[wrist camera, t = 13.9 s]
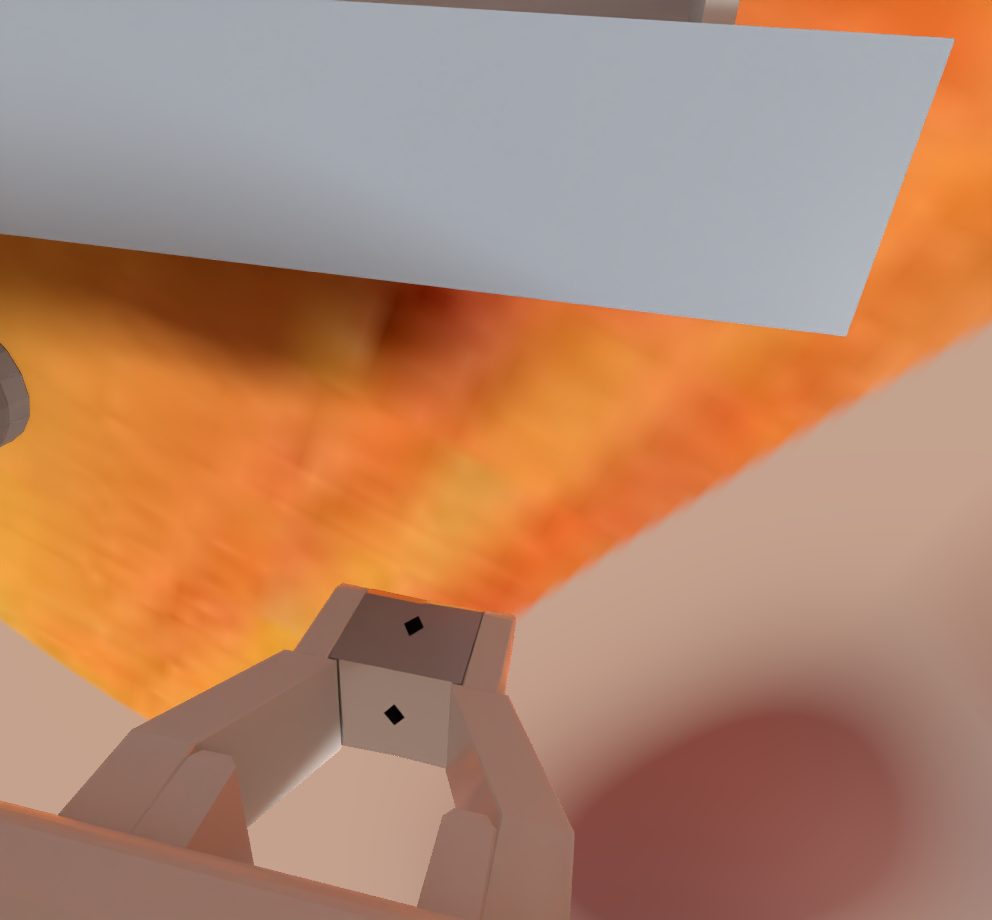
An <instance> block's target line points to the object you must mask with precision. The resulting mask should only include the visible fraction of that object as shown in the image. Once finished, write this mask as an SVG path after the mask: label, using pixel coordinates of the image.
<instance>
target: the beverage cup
mask: <svg viewBox="0 0 992 920" xmlns="http://www.w3.org/2000/svg"><path fill="white" fill-rule="evenodd" d="M28 419H29V396H28V393H27V390H26V387H25V384H24V381H23V378H22V375H21V373H20V371H19V370H18V368H17V367H16V365H15V363H14V362H13V360H12V358H11V357H10V355H9V354H8V352H7V351H6V350H5V348H4V347H3V346H2V345H1V344H0V447H1V446H3V445H5V444H7V443H9V442H11V441H13V440H14V439H15V438H16V437H18V436H19V435H20V434H21V433H22V432H24V429H25V427H26V424H27V421H28Z"/></svg>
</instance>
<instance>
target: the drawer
mask: <svg viewBox="0 0 992 920" xmlns="http://www.w3.org/2000/svg"><path fill="white" fill-rule="evenodd" d="M739 1H740V0H0V234H6V235H15V236H23V237H31V238H39V239H48V240H56V241H64V242H72V243H81V244H89V245H97V246H105V247H113V248H122V249H130V250H138V251H146V252H155V253H163V254H171V255H179V256H188V257H196V258H204V259H212V260H221V261H229V262H237V263H245V264H254V265H262V266H270V267H278V268H287V269H295V270H303V271H311V272H320V273H328V274H336V275H344V276H353V277H361V278H369V279H377V280H385V281H394V282H402V283H410V284H418V285H427V286H435V287H443V288H451V289H460V290H468V291H476V292H484V293H493V294H501V295H509V296H517V297H526V298H534V299H542V300H550V301H559V302H567V303H575V304H583V305H592V306H600V307H608V308H616V309H625V310H633V311H641V312H649V313H658V314H666V315H674V316H682V317H690V318H699V319H707V320H715V321H723V322H732V323H740V324H748V325H756V326H765V327H773V328H781V329H789V330H798V331H806V332H814V333H822V334H831V335H839V336H846V335H847V332H848V330H849V327H850V324H851V322H852V319H853V316H854V313H855V311H856V308H857V305H858V302H859V300H860V297H861V294H862V292H863V289H864V286H865V283H866V281H867V278H868V275H869V272H870V270H871V267H872V264H873V262H874V259H875V256H876V253H877V251H878V248H879V245H880V242H881V240H882V237H883V234H884V231H885V229H886V226H887V223H888V221H889V218H890V215H891V212H892V210H893V207H894V204H895V201H896V199H897V196H898V193H899V191H900V188H901V185H902V182H903V180H904V177H905V174H906V171H907V169H908V166H909V163H910V161H911V158H912V155H913V152H914V150H915V147H916V144H917V141H918V139H919V136H920V133H921V131H922V128H923V125H924V122H925V120H926V117H927V114H928V111H929V109H930V106H931V103H932V100H933V98H934V95H935V92H936V90H937V87H938V84H939V81H940V79H941V76H942V73H943V70H944V68H945V65H946V62H947V60H948V57H949V54H950V51H951V49H952V46H953V43H954V40H955V38H938V37H922V36H906V35H889V34H873V33H857V32H840V31H824V30H808V29H791V28H775V27H759V26H742V25H734V23H735V19H736V14H737V10H738V5H739Z"/></svg>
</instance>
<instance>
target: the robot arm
mask: <svg viewBox="0 0 992 920" xmlns="http://www.w3.org/2000/svg"><path fill="white" fill-rule="evenodd" d="M515 624H516V617H515V616H514V615H510V614H504V613H498V612H492V611H483V610H478V609H472V608H467V607H461V606H456V605H450V604H445V603H439V602H433V601H427V600H423V599H418V598H413V597H409V596H404V595H399V594H395V593H390V592H385V591H381V590H376V589H368V588H363V587H359V586H354V585H350V584H345V583H343V584H341V585H340V586H338V587H337V588H335V590H334V591H333V593H332V594H331V596H330V597H329V599H328V600H327V602H326V603H325V605H324V606H323V608H322V609H321V611H320V612H319V614H318V615H317V617H316V618H315V620H314V621H313V623H312V624H311V626H310V627H309V629H308V630H307V632H306V633H305V635H304V636H303V638H302V639H301V641H300V642H299V644H298V645H297V647H296V648H295V650H294V651H290V650H283V651H281V652H279V653H277V654H275V655H273V656H272V657H270V658H268V659H266V660H264V661H262V662H260V663H258V664H256V665H254V666H252V667H251V668H249V669H247V670H245V671H243V672H241V673H239V674H237V675H235V676H233V677H231V678H230V679H228V680H226V681H224V682H222V683H220V684H218V685H216V686H214V687H212V688H210V689H208V690H207V691H205V692H203V693H201V694H199V695H197V696H195V697H193V698H191V699H189V700H187V701H186V702H184V703H182V704H180V705H178V706H176V707H174V708H172V709H170V710H168V711H166V712H165V713H163V714H161V715H159V716H157V717H155V718H153V719H151V720H149V721H147V722H145V723H144V724H142V725H140V726H138V727H136V728H134V729H132V730H131V731H130V732H129V733H128V735H127V736H126V737H125V738H124V739H123V740H122V741H121V743H120V744H119V745H118V746H117V747H116V749H115V750H114V751H113V752H112V753H111V754H110V755H109V756H108V758H107V759H106V760H105V761H104V762H103V763H102V765H101V766H100V767H99V768H98V769H97V770H96V772H95V773H94V774H93V775H92V776H91V777H90V778H89V780H88V781H87V782H86V783H85V784H84V785H83V787H82V788H81V789H80V790H79V791H78V793H77V794H76V795H75V796H74V797H73V798H72V799H71V800H70V802H69V803H68V804H67V805H66V806H65V807H64V808H63V810H62V811H61V812H60V813H59V814H58V815H54V814H50V813H46V812H42V811H38V810H34V809H30V808H27V807H22V806H19V805H15V804H11V803H7V802H3V801H0V920H570V919H569V918H570V902H571V901H570V900H571V886H572V870H573V854H574V837H575V833H574V831H573V829H572V827H571V825H570V823H569V821H568V819H567V817H566V815H565V813H564V810H563V808H562V806H561V804H560V802H559V800H558V798H557V796H556V794H555V792H554V790H553V788H552V786H551V784H550V782H549V779H548V777H547V775H546V773H545V771H544V769H543V767H542V765H541V763H540V761H539V759H538V757H537V754H536V753H535V751H534V748H533V746H532V744H531V742H530V740H529V738H528V736H527V734H526V732H525V730H524V728H523V726H522V724H521V722H520V720H519V717H518V715H517V713H516V711H515V709H514V707H513V705H512V703H511V701H510V699H509V697H508V695H506V689H507V682H508V676H509V670H510V662H511V654H512V647H513V639H514V631H515ZM341 745H344V746H349V747H354V748H360V749H365V750H370V751H375V752H380V753H386V754H391V755H395V756H399V757H403V758H407V759H411V760H415V761H420V762H423V763H427V764H431V765H435V766H439V767H443V768H446V774H447V777H448V781H449V785H450V788H451V792H452V796H453V799H454V803H455V807H456V808H454V809H453V810H451V811H449V812H448V813H446V814H445V815H443V817H442V820H441V824H440V827H439V831H438V835H437V838H436V842H435V845H434V849H433V852H432V856H431V859H430V863H429V866H428V870H427V873H426V877H425V880H424V884H423V888H422V891H421V895H420V898H419V902H418V905H417V907H415V906H410V905H407V904H403V903H399V902H395V901H391V900H387V899H383V898H379V897H376V896H371V895H368V894H364V893H360V892H356V891H352V890H348V889H344V888H340V887H337V886H332V885H329V884H325V883H321V882H317V881H312V880H309V879H305V878H301V877H297V876H293V875H289V874H285V873H281V872H278V871H274V870H270V869H266V868H261V867H258V866H254V863H253V857H252V852H251V847H250V841H249V836H248V830H247V827H248V826H250V825H251V824H252V823H253V822H255V821H256V820H257V819H258V818H259V817H260V816H262V815H263V814H264V813H265V812H266V811H268V810H269V809H270V808H271V807H272V806H274V805H275V804H276V803H277V802H278V801H280V800H281V799H282V798H283V797H284V796H285V795H287V794H288V793H289V792H290V791H291V790H293V789H294V788H295V787H296V786H297V785H299V784H300V783H301V782H302V781H303V780H305V779H306V778H307V777H308V776H309V775H311V774H312V773H313V772H314V771H315V770H317V769H318V768H319V767H320V766H321V765H322V764H324V763H325V762H326V761H327V760H328V759H330V758H331V757H332V756H333V755H334V754H336V753H337V752H338V751H339V750H340V749H341Z"/></svg>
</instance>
